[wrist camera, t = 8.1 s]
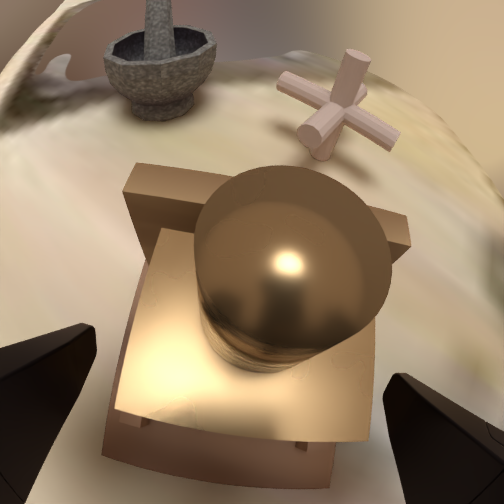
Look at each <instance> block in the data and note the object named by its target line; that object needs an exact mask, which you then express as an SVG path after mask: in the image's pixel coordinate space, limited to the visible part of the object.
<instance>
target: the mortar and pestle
mask: <svg viewBox="0 0 504 504" xmlns="http://www.w3.org/2000/svg"><path fill="white" fill-rule="evenodd" d="M171 8H172V7H171V0H146V15H145V29H142V30H137V31H134V32H130V33H128V34H126V35H124V36H122V37H120V38H119V39H117V40H115V41H113V42H112V43H110V44H108V46H107V48H106V52H105V55H104V64H105V70H106V73H107V76H108V78H109V81H110V84H111V85H112V86H113V87H114V88H115V89H116V90H117V91H118V92H119V93H120V94H121V95H123V96H125V97H127V98H129V99H130V100H132V113H133V114H135V115H136V116H138V117H139V118H141V119H143V120H145V121H166V120H169V119H172V118H175V117H178V116H181V115H184V114H185V113H186V112H187V111H188V110H189V109H190V108H191V107H192V106H193V105H194V98H193V94H192V92H193V91H194V90H196V89H197V88H198V87H199V86H200V85H201V84H202V83H203V82H204V81H205V79H206V78H207V77H208V75H209V74H210V72H211V71H212V68H213V64H214V60H215V57H216V46H217V43H216V41H215V39H214V37H213V35H212V33H211V32H210V31H206V30H203V29H200V28H196V27H193V26H189V25H173V19H172V9H171Z"/></svg>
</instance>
